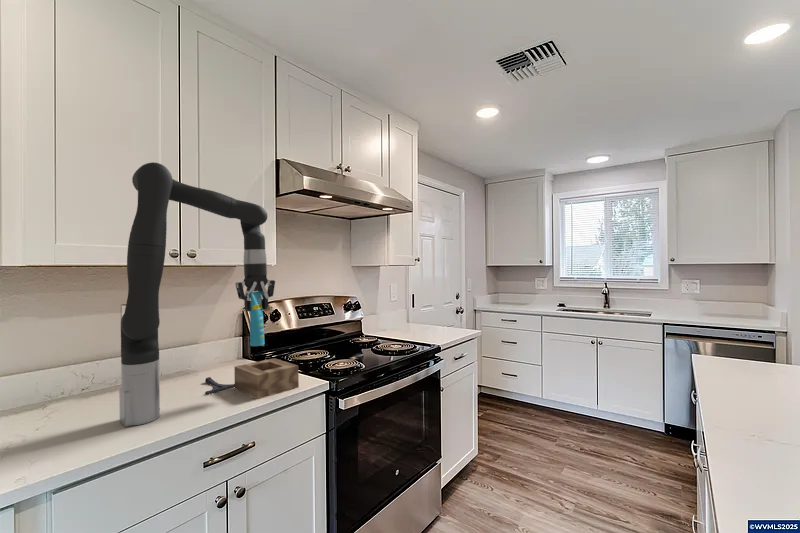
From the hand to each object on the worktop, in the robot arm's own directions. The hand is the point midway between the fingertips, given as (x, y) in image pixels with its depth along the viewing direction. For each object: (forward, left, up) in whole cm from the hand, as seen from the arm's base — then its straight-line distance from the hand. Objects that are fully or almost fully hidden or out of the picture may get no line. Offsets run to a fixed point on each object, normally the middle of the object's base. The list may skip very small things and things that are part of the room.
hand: (256, 309), depth 135 cm
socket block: (+5, +2, -29) cm, 30 cm away
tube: (0, 0, -13) cm, 13 cm away
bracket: (-6, +19, -30) cm, 36 cm away
